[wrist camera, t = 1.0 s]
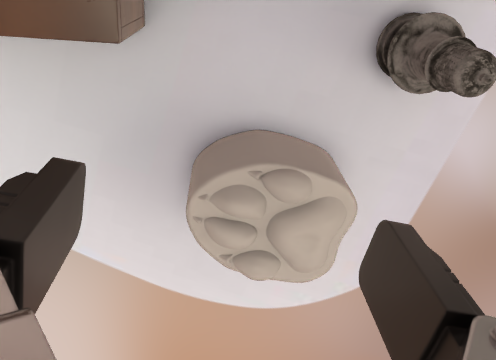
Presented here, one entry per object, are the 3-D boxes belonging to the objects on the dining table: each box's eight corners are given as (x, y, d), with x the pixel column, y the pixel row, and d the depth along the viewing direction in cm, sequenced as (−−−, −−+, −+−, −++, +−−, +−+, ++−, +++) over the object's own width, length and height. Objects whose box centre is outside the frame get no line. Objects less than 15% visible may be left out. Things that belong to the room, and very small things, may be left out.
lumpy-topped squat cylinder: (306, 244, 43) (324, 304, 35) (179, 214, 41) (169, 271, 33) (346, 151, 39) (377, 196, 31) (207, 113, 36) (202, 151, 29)
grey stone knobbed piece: (358, 61, 35) (417, 100, 24) (403, -7, 33) (490, 4, 22) (412, 95, 37) (491, 147, 26) (459, 33, 34) (566, 60, 24)
